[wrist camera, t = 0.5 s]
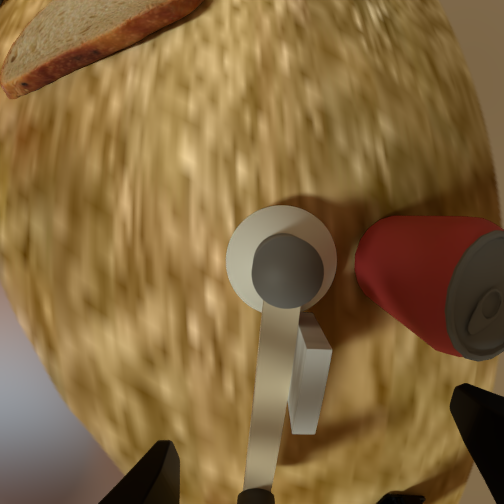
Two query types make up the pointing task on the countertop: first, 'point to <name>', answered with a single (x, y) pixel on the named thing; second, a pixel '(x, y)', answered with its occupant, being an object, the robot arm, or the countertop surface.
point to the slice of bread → (81, 37)
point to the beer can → (438, 280)
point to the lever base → (270, 224)
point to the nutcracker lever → (284, 356)
